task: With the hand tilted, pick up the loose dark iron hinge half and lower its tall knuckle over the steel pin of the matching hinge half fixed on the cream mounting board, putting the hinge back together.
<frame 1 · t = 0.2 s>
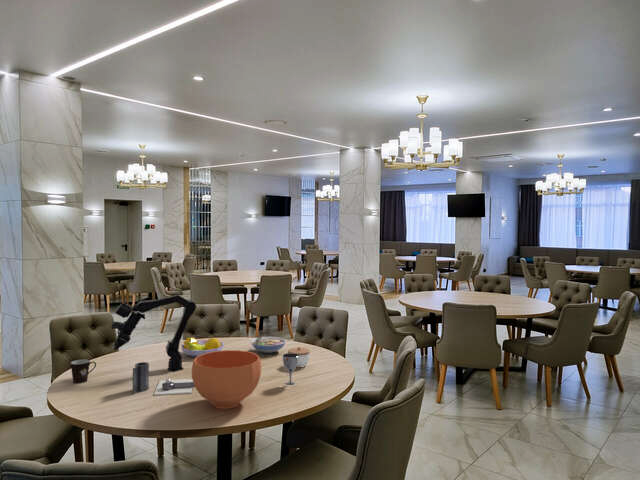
hand: (114, 347, 242), 15 cm above the table, tool tilted 35°, fingers open, 9 cm apart
loose hinge half: (141, 389, 221), on the table
flowerpot: (226, 404, 204), on the table
lidded bowl: (298, 366, 263), on the table
hinge base: (168, 389, 221), on the table
ramen bowl: (268, 352, 293), on the table
fruit bowl: (201, 355, 285), on the table
wine glass: (290, 384, 231), on the table
coffee mug: (83, 381, 233), on the table
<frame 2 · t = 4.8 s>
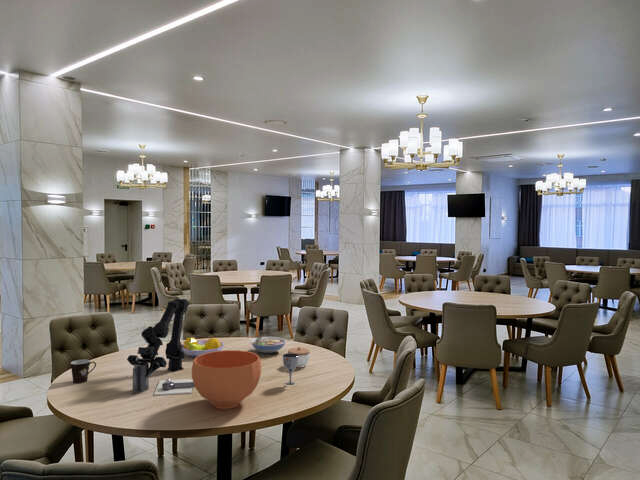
hand: (140, 376, 220), 7 cm above the table, tool tilted 45°, fingers closed on loose hinge half, 6 cm apart
loose hinge half: (141, 389, 221), on the table, touching gripper
everything else where it was.
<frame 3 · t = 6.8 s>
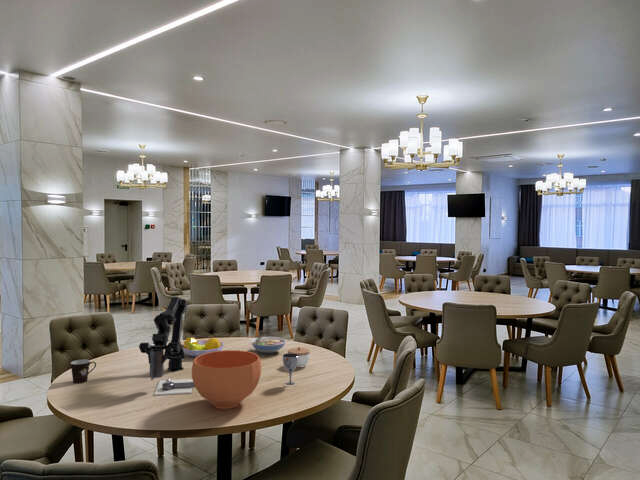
hand: (155, 363, 219), 13 cm above the table, tool tilted 45°, fingers closed on loose hinge half, 6 cm apart
loose hinge half: (156, 375, 221), point 7 cm above the table, touching gripper
everything else where it was.
when the fingers open (10 cm above the table, at t = 9.2 s): loose hinge half stays where it is, resting on hinge base.
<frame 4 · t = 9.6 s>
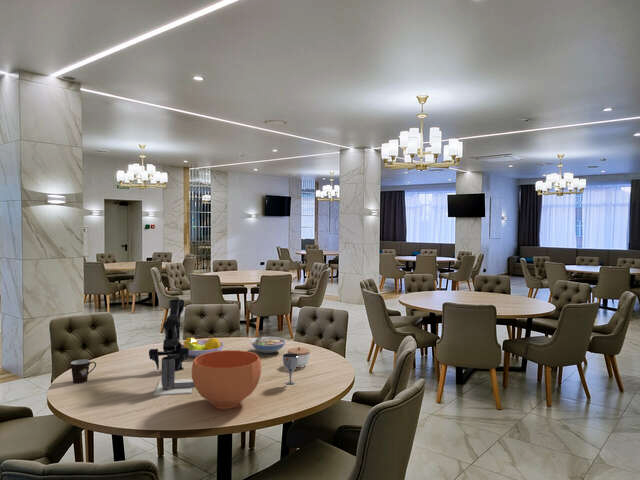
hand: (167, 369, 220), 11 cm above the table, tool tilted 45°, fingers open, 9 cm apart
loose hinge half: (168, 383, 221), point 3 cm above the table, touching hinge base
everything else where it was.
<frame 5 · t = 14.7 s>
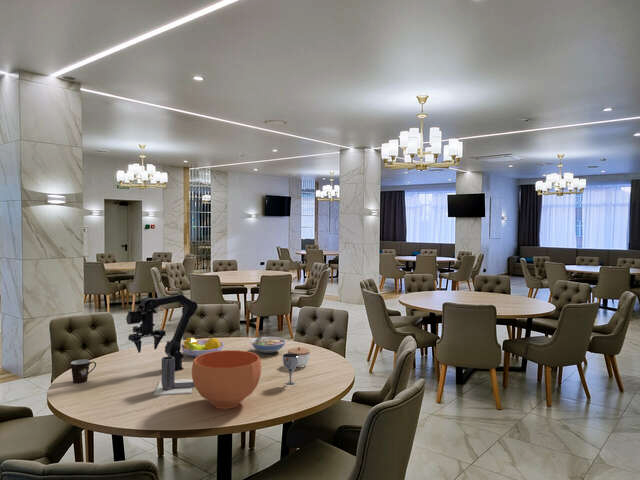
hand: (147, 351, 243), 13 cm above the table, tool pointing down, fingers open, 9 cm apart
nothing on the table moved.
at the end: loose hinge half 0.0 cm off-centre on the hinge base, point 3.0 cm above the hinge base's base; loose hinge half tilted 0°; the gripper is holding nothing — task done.
